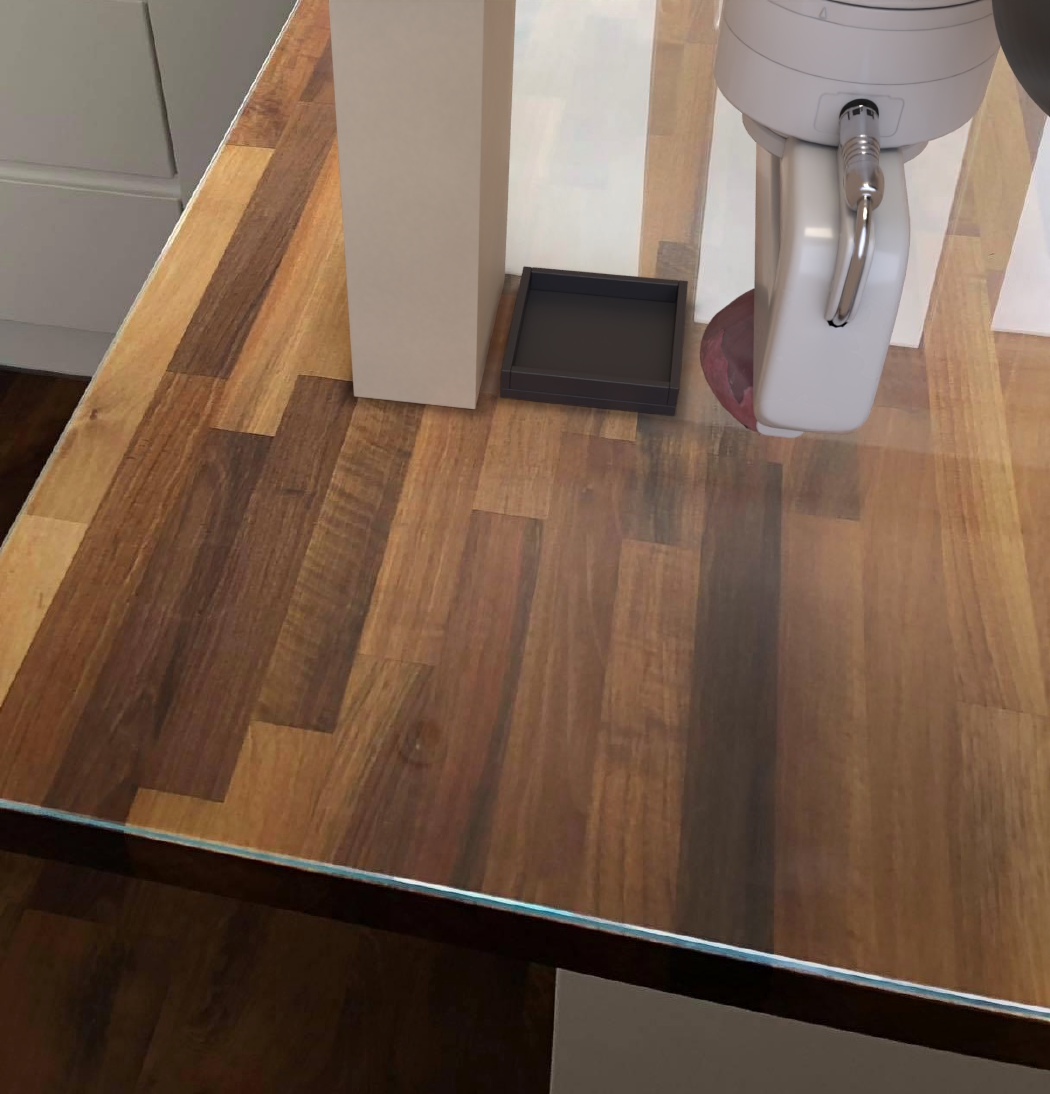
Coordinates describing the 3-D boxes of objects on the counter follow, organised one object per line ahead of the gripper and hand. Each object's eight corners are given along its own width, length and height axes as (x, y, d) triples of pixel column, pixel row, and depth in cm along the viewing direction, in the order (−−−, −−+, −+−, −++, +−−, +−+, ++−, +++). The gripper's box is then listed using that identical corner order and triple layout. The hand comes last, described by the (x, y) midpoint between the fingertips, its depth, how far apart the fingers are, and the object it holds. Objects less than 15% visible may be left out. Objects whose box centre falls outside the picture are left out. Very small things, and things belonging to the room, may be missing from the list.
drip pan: (683, 307, 95) (688, 280, 93) (674, 416, 87) (679, 388, 86) (521, 292, 97) (523, 265, 95) (499, 397, 89) (501, 370, 88)
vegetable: (736, 361, 61) (778, 162, 53) (863, 421, 58) (927, 220, 51) (659, 434, 58) (693, 234, 50) (790, 501, 55) (846, 300, 48)
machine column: (512, 275, 98) (532, -172, 76) (481, 415, 88) (494, -51, 66) (388, 263, 99) (372, -178, 77) (344, 400, 89) (311, -61, 67)
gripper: (991, 223, 38) (871, 560, 48) (933, -94, 51) (849, 222, 61) (755, 204, 39) (687, 538, 49) (759, -103, 52) (705, 210, 62)
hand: (777, 359), depth 55 cm, fingers closed on vegetable, 6 cm apart
